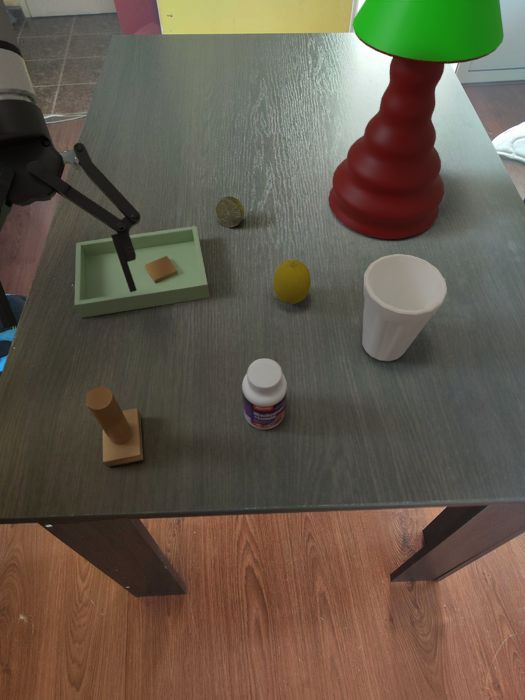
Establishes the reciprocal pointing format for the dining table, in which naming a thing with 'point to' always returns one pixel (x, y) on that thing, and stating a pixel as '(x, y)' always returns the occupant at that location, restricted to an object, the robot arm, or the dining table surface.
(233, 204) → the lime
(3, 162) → the robot arm
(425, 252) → the dining table surface
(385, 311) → the cup
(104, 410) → the cylinder on block base
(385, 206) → the table lamp
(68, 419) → the dining table surface
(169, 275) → the flat brown square tile
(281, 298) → the lemon
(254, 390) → the pill bottle
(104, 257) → the tray
